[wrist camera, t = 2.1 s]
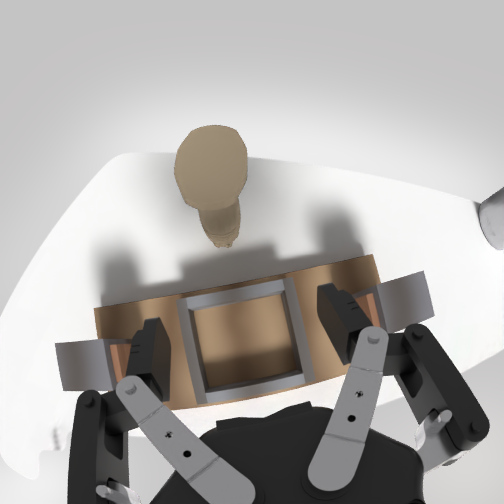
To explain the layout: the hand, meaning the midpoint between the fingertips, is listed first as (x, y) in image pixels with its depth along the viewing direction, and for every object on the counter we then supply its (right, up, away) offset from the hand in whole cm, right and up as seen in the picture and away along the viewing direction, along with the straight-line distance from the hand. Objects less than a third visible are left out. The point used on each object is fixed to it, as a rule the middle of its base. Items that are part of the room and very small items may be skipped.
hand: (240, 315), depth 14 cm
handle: (-3, +5, +19) cm, 20 cm away
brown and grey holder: (0, -6, +15) cm, 17 cm away
